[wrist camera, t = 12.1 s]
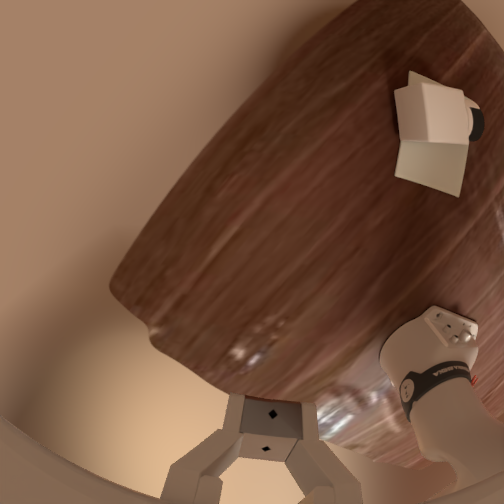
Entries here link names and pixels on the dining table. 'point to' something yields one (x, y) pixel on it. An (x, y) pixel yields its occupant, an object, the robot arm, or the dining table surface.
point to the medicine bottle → (437, 115)
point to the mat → (432, 158)
